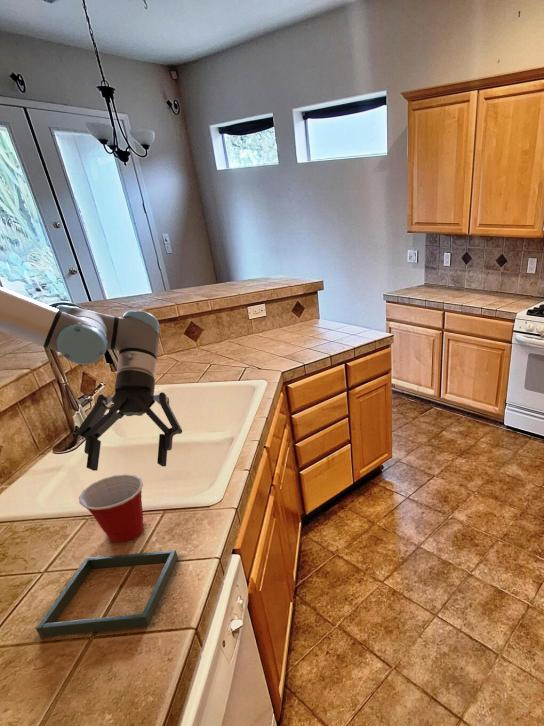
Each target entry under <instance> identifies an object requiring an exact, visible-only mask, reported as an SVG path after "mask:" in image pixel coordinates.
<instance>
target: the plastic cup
mask: <svg viewBox="0 0 544 726" xmlns="http://www.w3.org/2000/svg"><path fill="white" fill-rule="evenodd" d="M143 487H144V483H143V480H142V478H140V477H139V476H137V475H135V474H128V473H127V474H126V473H123V474H122V473H121V474H114V475H110V476H106V477H104V478H100V479H99V480H97V481H95V482H93V483H91V484H90V485H88V486H87V487H86V488H85V489H83V490H82V492H81V493H80V495H79V496H78V503H79V505H80V506H82V507H83V508H85V509H86V510H87V511H89V513H90V514H91V515H92V516H93V518H94V519H95V521H96V522H97V524H98V525H99V527H100V528H101V530H102V531H103V532H104V533H105V535H106V536H107V538H108V539H109V541H111V542H114V543H124V542H128V541H131V540H134V539H135V538H137V537H138V536H140V535H141V534H142V533H143V531H144V514H143V503H142V497H143V496H142V489H143Z"/></svg>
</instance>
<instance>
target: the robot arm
mask: <svg viewBox="0 0 544 726" xmlns="http://www.w3.org/2000/svg"><path fill="white" fill-rule="evenodd" d="M0 333H3V334H6V335H9V336H11V337H15V338H16V339H20V340H23V341H26V342H29V343H31V344H35V345H37V346H40V347H44V348H47V349H50V350H52V351H55V352H58V353H60V354H61V355H62V356H63V357H64V358H65V359H66V360H68V361H69V362H71V363H74V364H77V365H92V364H94V363H96V362H99V361H100V360H102V358H103V357H104V355H105V354H106V352H107V350H111V351H118V358H117V366H116V367H117V368H116V375H115V384H114V394H113V396H106V395H103V394H98V395H97V397H96V401H95V403H94V406H93V408H92V409H91V411H89V413H88V415H87V416H86V417H85V418H84V420H83V422H82V423H81V424H80V426H79V427H78V429H76V432H75V434H76V435H77V436H78V437H80V438H82V439H84V440H85V441H84V442H85V443H84V450H83V451H84V454H86V455H87V461H86V469H89V470H90V471H93V472H95V471H98V470H99V463H100V453H101V445H102V441H101V440H100V437H101V436H102V435H103V434H104V433H106V432H107V431H108V430H109V429H110V428H111V427H112V426H113V425H115V423H116V422H117V421H118V420H121V419H123V417H125V416H126V417H132V416H138V417H141V416H143V415H144V414H146V415H147V417H149V419H151V420H152V422H153V423H154V424H155V425H156V426H157V427H158V428H159V429H160V431H162V433H159V437H158V449H157V465H159V466H161V467H167V459H168V451H172V449H173V438H174V436H176V435H181V434H182V433H183V429H182V427H181V425H180V423H179V422H178V419H177V418H176V416H175V414H174V412H173V410H172V408H171V406H170V397H169V396H168V395H167V394H166V393H165V392H159V394H156V395H155V389H156V388H155V387H156V377H157V360H158V352H159V343H160V342H159V341H160V323H159V320H158V319H157V318H156V317H155V316H154V315H153V314H151V313H150V312H147V311H143V310H134V309H132V310H128V311H126V312H124V313H123V315H122V317H121V316H114V315H111V314H105V313H102V312H97V311H93V310H89V309H84V308H80V307H79V306H70V305H65V304H59V305H57V306H56V307H52V306H49V305H47V304H45V303H42V302H39V301H37V300H35V299H32V298H30V297H26V296H24V295H21V294H19V293H16V292H15V291H12V290H8V289H7V288H4V287H2V286H0ZM155 403H156V404H158V405H160V407H161V409H162V411H163V413H164V415H165V417H166V418H167V419H166V420H167V421H168V423H169V425H170V426H171V427H168V426H167V424H165V423H164V422H163V420H162V419H161V418H160V417H159V416H158V415H157V414H156V413H155V411H153V410H152V409H151V407H152V406H154V404H155ZM112 404H113V405H112ZM111 405H112V406H111ZM108 408H109V410H108ZM107 410H108V412H107ZM106 412H107V413H106ZM105 413H106V414H105Z"/></svg>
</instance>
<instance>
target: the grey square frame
mask: <svg viewBox="0 0 544 726" xmlns="http://www.w3.org/2000/svg"><path fill="white" fill-rule="evenodd" d="M178 560H179V556H178V553H177V550H176V549H175V550H174V549H173V550H165V551H164V550H162V551H151V552H149V551H148V552H139V553H138V552H137V553H126V554H116V555H115V554H114V555H102V556H92V557H86V558H85V559H84V560H83V561H82V563H81V564H80V566H79V567H78V568H77V570H76V572H75V573H74V574H73V576H72V577H71V579H70V580H69V581H68V582H67V584H66V585H65V587H64V589H63V590H62V591H61V592H60V594H59V595H58V597H57V598H56V599H55V601H54V602H53V604H52V605H51V607H50V608H49V609H48V610H47V612H46V613H45V615H44V616H43V618H42V619H41V620H40V622H39V624H38V625H36V628H35V630H36V631H37V634H38V635H39V637H40V638H50V637H51V638H52V637H60V636H68V635H77V634H78V635H79V634H88V633H98V632H106V631H115V630H125V629H126V630H127V629H134V628H143V627H150V624H151V621H152V619H153V617H154V615H155V613H156V610H157V608H158V606H159V603H160V601H161V600H162V599H161V598H162V596H163V594H164V593H165V590H166V588H167V585H168V583H169V581H170V578H171V576H172V574H173V572H174V569H175V567H176V565H177V563H178ZM163 563H165V564H164V566H163V568H162V570H161V572H160V574H159V576H158V579H157V581H156V583H155V585H154V587H153V589H152V591H151V594H150V596H149V598H148V599H147V602H146V604H145V607H144V608H143V611H142V613H135V614H127V615H126V614H124V615H117V616H105V617H98V618H96V617H95V618H87V619H77V620H76V619H75V620H69V621H59V622H58V620H59V619H60V617H61V616H62V615H63V613H64V612H65V610H66V609H67V607H68V606H69V604H70V602H71V601H72V600H73V598H74V597H75V595H76V594H77V592H78V591H79V589H80V588H81V586H82V584H83V583H84V582H85V580H86V578H87V577H88V576H89V574H90V573H91V572H92V570H93V569H105V568H116V567H118V568H119V567H126V566H129V567H130V566H139V565H152V564H163Z"/></svg>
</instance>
